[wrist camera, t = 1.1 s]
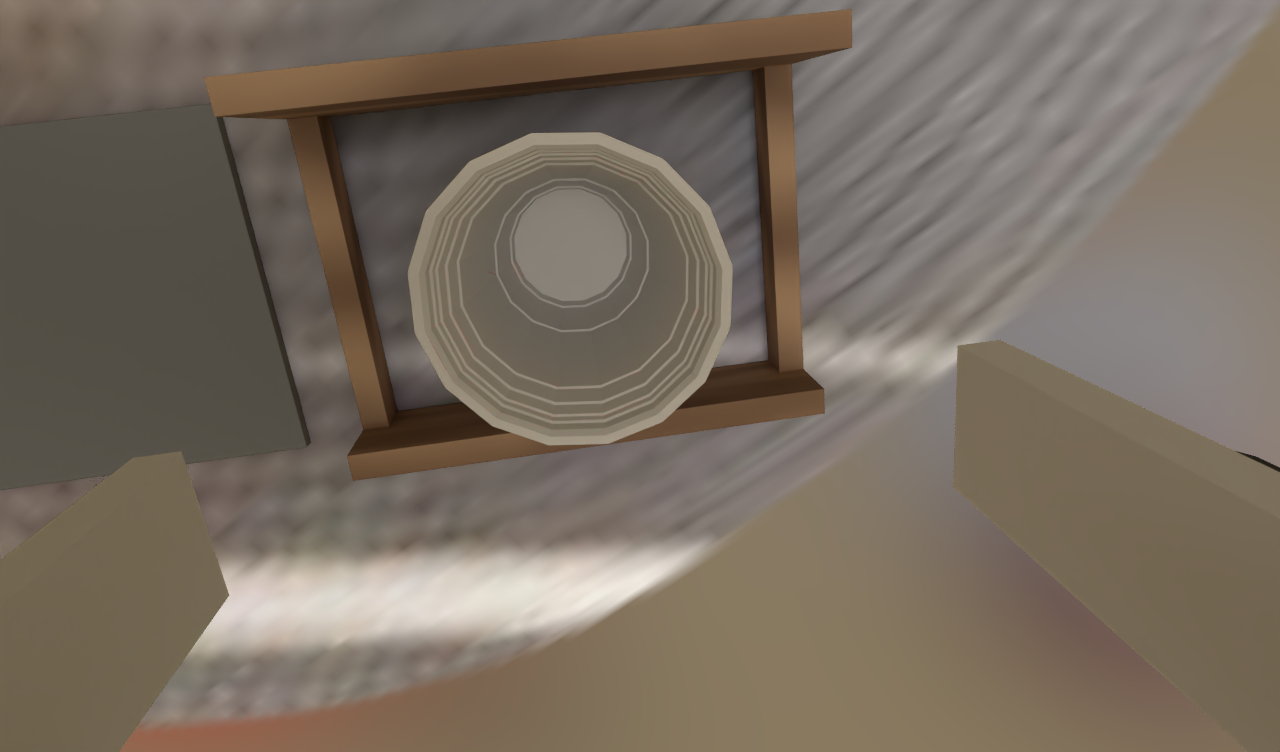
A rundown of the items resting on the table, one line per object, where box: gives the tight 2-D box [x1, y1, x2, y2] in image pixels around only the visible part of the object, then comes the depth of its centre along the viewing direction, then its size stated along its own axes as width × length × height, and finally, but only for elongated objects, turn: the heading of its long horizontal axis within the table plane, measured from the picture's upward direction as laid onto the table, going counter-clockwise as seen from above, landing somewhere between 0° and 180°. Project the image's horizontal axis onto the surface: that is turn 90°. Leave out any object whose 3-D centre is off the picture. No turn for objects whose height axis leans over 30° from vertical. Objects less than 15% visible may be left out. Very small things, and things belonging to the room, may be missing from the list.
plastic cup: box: [408, 132, 733, 445], centre depth 30 cm, size 11×11×12 cm
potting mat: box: [0, 104, 311, 490], centre depth 34 cm, size 16×16×1 cm
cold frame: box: [204, 9, 852, 481], centre depth 32 cm, size 16×21×9 cm
